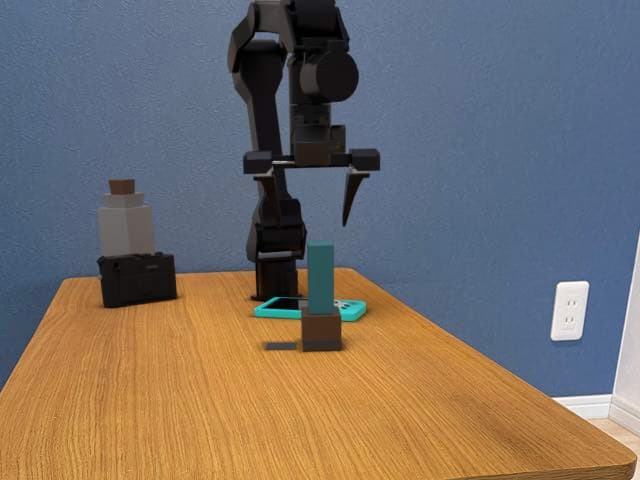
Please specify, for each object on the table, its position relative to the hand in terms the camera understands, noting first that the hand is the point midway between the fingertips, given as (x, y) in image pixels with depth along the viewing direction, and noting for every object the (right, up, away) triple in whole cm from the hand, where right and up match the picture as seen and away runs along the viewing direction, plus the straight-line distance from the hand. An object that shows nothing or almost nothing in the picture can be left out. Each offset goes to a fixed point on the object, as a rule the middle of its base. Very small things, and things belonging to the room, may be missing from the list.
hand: (311, 227), depth 122 cm
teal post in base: (+1, -19, -9) cm, 21 cm away
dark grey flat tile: (-4, -19, -8) cm, 21 cm away
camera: (-29, -5, +22) cm, 37 cm away
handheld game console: (0, -10, +10) cm, 14 cm away
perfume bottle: (-32, +2, +36) cm, 48 cm away
